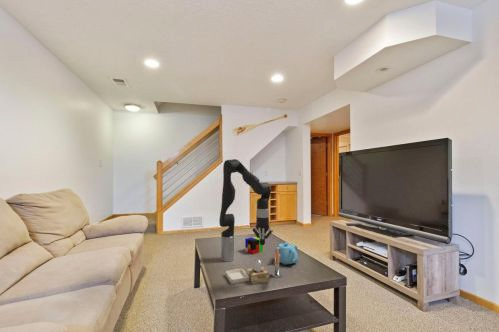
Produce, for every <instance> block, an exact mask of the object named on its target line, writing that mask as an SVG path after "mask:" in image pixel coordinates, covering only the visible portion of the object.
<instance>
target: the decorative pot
mask: <svg viewBox="0 0 499 332" xmlns="http://www.w3.org/2000/svg"><path fill="white" fill-rule="evenodd" d="M276 248H279V254H280V257H279V264H281V265H283V266H287V265H293V263H294V264H296V263H297V261H298V260H299V259H298V258H299V257H298V256H299V255H298V246H297V245H296V244H290V243H289V242H283V243H279V244H278V245H277V247H276ZM276 248H275V249H274V254H275V253H276ZM273 257H274V256H273ZM273 259H274V260H275V257H274V258H273Z"/></svg>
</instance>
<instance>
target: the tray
mask: <svg viewBox="0 0 499 332" xmlns="http://www.w3.org/2000/svg"><path fill="white" fill-rule="evenodd" d="M225 277H226V279H228V281H229V282H230V284H231V285H235V284H240V283H241V282H242V283H247V282H251V281H250V277H249V276H248V274H247V271H245V270H244V269H243V268H237V269H231V270H226V271H225ZM246 281H247V282H246Z"/></svg>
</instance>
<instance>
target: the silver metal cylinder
mask: <svg viewBox="0 0 499 332" xmlns="http://www.w3.org/2000/svg"><path fill="white" fill-rule="evenodd" d="M261 266H262V259H259V258H256V259H254V260H253V268H254V272H255V273H260V272H261Z"/></svg>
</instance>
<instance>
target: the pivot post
mask: <svg viewBox="0 0 499 332" xmlns="http://www.w3.org/2000/svg"><path fill="white" fill-rule="evenodd" d="M269 275H270V276H271V277H273V279H279V278H284V274H283V273H281V272H280V264H279V265H275V264H274V272H269Z"/></svg>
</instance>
